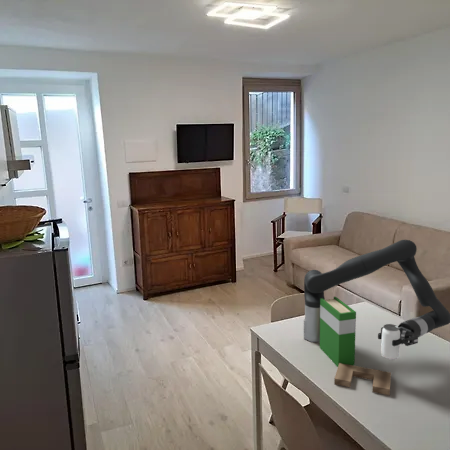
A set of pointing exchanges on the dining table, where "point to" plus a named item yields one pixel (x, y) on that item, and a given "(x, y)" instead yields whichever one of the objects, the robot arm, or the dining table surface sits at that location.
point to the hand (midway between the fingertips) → (385, 340)
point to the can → (390, 341)
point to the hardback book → (337, 331)
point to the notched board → (349, 371)
